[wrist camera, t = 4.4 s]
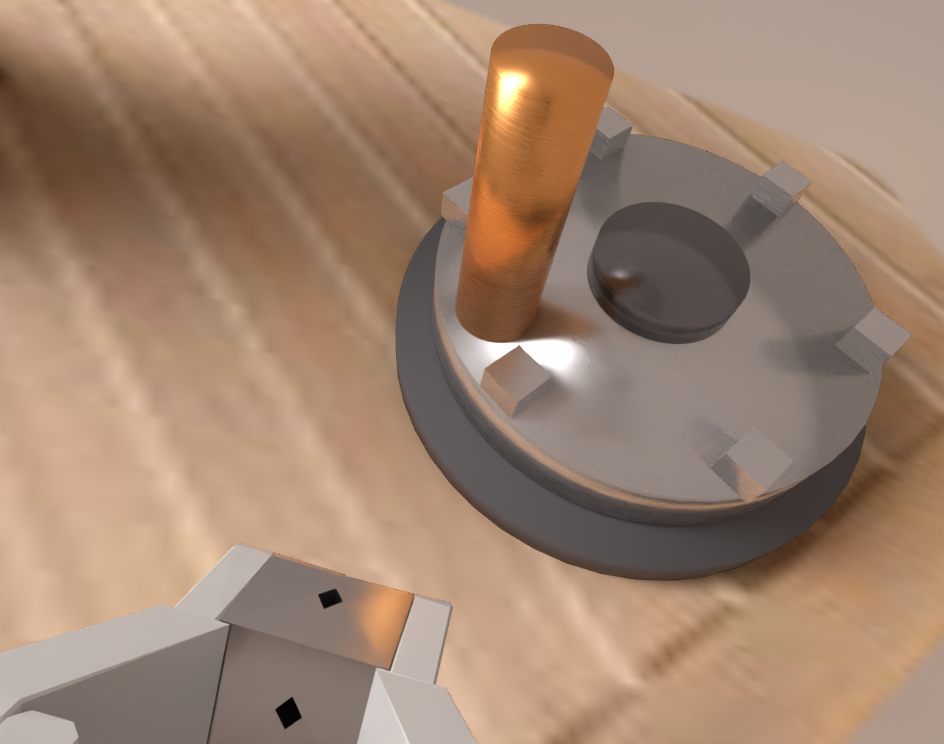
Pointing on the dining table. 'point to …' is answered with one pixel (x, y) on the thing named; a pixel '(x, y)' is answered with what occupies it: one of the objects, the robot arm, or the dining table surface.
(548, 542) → the base plate
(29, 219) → the dining table surface
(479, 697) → the dining table surface
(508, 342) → the round lugged disc
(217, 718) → the robot arm
